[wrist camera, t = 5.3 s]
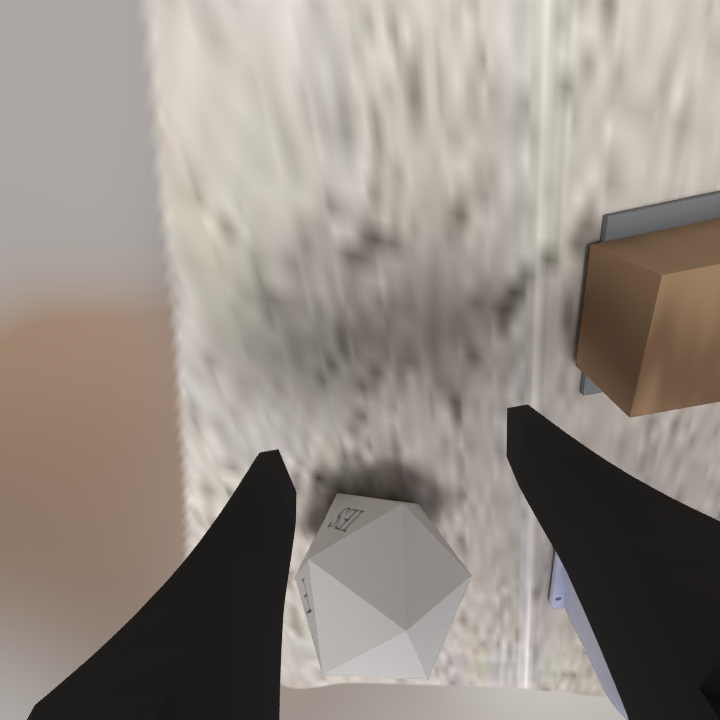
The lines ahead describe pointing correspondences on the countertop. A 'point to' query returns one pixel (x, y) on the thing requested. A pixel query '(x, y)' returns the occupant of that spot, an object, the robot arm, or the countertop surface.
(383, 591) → the die
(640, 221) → the mat
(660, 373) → the walnut block
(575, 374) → the countertop surface
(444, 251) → the countertop surface
